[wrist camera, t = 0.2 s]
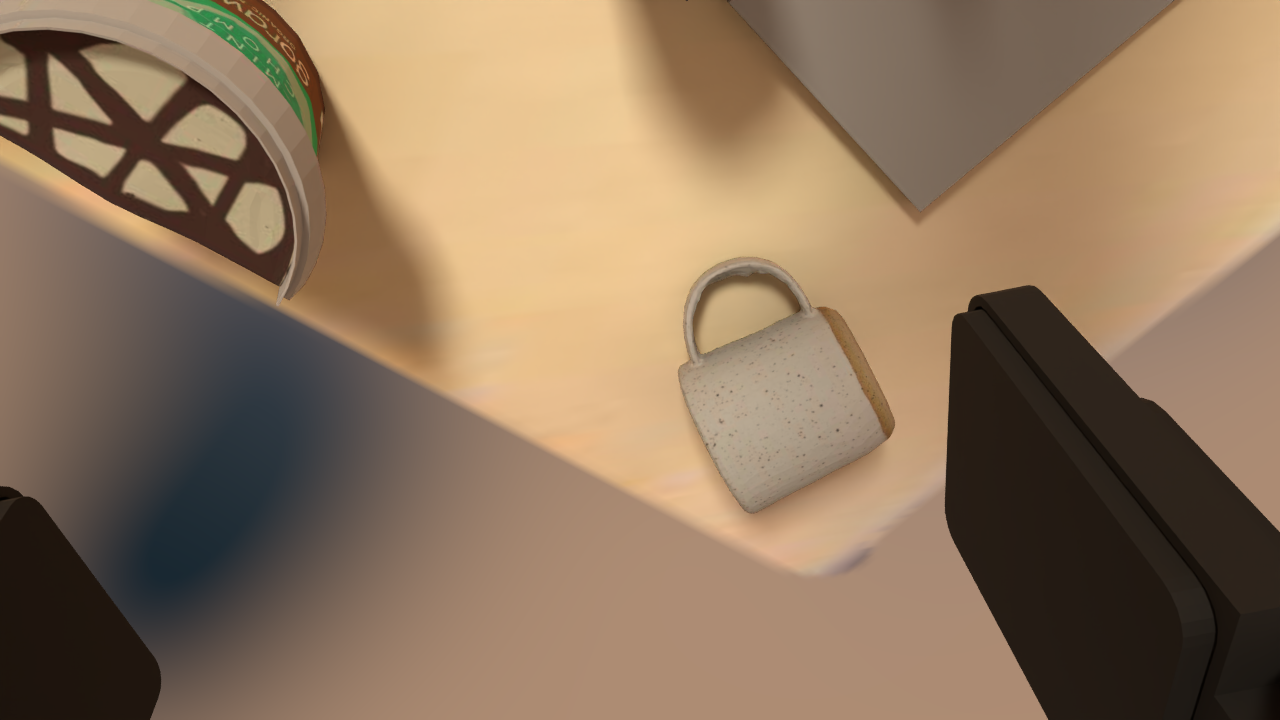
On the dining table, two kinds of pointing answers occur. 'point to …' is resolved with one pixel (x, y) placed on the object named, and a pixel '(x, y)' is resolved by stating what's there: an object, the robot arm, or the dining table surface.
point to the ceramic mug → (781, 396)
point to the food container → (176, 119)
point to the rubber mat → (940, 70)
